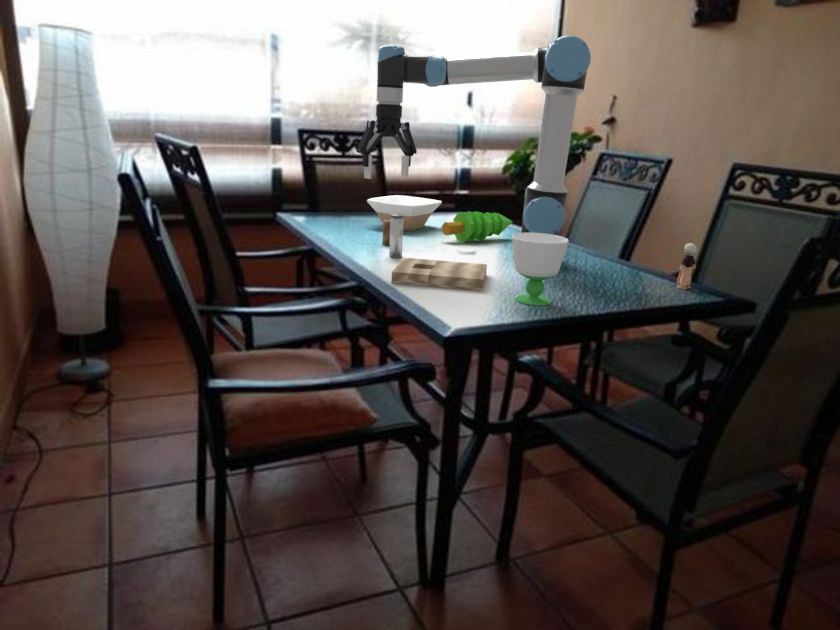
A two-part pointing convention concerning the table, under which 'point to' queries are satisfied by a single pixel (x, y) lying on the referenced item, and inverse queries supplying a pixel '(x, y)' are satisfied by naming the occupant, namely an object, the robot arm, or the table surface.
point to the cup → (537, 262)
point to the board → (440, 274)
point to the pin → (396, 235)
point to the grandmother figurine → (686, 267)
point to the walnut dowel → (386, 232)
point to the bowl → (405, 209)
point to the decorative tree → (475, 225)
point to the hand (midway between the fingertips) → (386, 178)
